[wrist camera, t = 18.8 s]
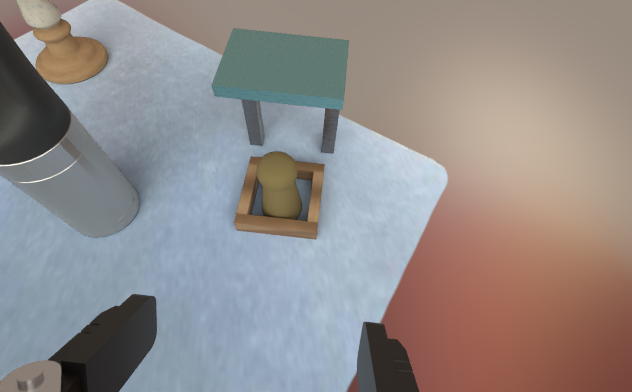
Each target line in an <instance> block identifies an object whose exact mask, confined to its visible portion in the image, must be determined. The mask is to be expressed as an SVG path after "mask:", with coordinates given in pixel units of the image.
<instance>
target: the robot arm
mask: <svg viewBox="0 0 632 392" xmlns="http://www.w3.org/2000/svg"><path fill="white" fill-rule="evenodd" d="M0 175H1V176H2V177H3V178H5V179H7V180H8V181H9V182H11V183H12V184H13V185H15V186H16V187H18V188H19V189H20V190H22V191H23V192H25V193H26V194H27V195H29V196H30V197H32V198H33V199H34V200H36V201H37V202H38V203H40V204H41V205H43V206H44V207H45V208H47V209H48V210H50V211H51V212H52V213H54V214H55V215H57V216H58V217H59V218H61V219H62V220H63V221H65V222H66V223H67V224H69V225H70V226H72V227H73V228H74V229H76V230H77V231H79V232H80V233H82V234H83V235H86V236H89V237H105V236H108V235H112V234H114V233H116V232H119V231H120V230H122V229H123V228H125V227H126V226H127V225H128V224H129V223H130V222H131V221H132V220H133V219H134V217H135V216H136V214H137V212H138V209H139V205H140V199H139V195H138V193H137V192H136V190H135V189H134V187H133V186H132V185H131V184H130V183H129V181H128V180H127V179H126V178H125V176H124V175H123V174H122V173H121V171H120V170H119V169H118V168H117V167H116V165H115V164H114V163H113V162H112V160H111V159H110V158H109V157H108V156H107V154H106V153H105V152H104V151H103V150H102V148H101V147H100V146H99V145H98V143H97V142H96V141H95V140H94V139H93V137H92V136H91V135H90V134H89V133H88V131H87V130H86V129H85V128H84V126H83V125H82V124H81V123H80V122H79V121H78V119H77V118H76V117H75V116H74V114H73V113H72V112H71V111H70V110H69V108H68V107H67V106H66V105H65V103H64V102H63V101H62V100H61V99H60V97H59V96H58V95H57V94H56V93H55V92H54V91H53V89H52V88H51V87H50V86H49V85H48V84H47V82H46V81H45V80H44V79H43V78H42V76H41V75H40V74H39V73H38V71H37V70H36V69H35V68H34V67H33V65H32V64H31V63H30V61H29V60H28V59H27V57H26V56H25V55H24V53H23V52H22V51H21V49H20V48H19V47H18V45H17V44H16V42H15V41H14V40H13V38H12V37H11V36H10V34H9V33H8V32H7V30H6V29H5V27H4V26H3V25H2V23H1V22H0ZM156 334H157V317H156V299H155V297H154V296H147V295H138V294H133V295H131V296H130V297H129V298H128V299H127V300H126V301H125V302H123V303H122V304H121V305H120V306H114V307H112V308H110V309H108V310H106V311H104V312H102V313H101V314H100V315H98V316H97V317H96V318H95V319H94V320H93V321H92V322H90V325H87V326H86V327H85V328H84V329H82V330H81V333H78V334H77V335H76V336H75V337H73V338H72V339H71V340H70V341H69V342H68V343H67V344H65V345H64V346H63V347H62V348H61V349H60V350H59V351H58V352H56V353H55V354H54V355H53V356H52V357H51V358H50V359H48V360H46V361H37V362H33V363H30V364H27V365H24V366H22V367H20V368H18V369H16V370H14V371H12V372H11V373H10V374H8V375H7V376H6V377H5V378H4V379H3V380H2V381H0V392H119V391H120V389H121V388H122V387H123V385H124V384H125V383H126V381H127V380H128V379H129V377H130V376H131V375H132V373H133V372H134V371H135V369H136V368H137V367H138V365H139V364H140V363H141V361H142V360H143V359H144V357H145V356H146V355H147V353H148V352H149V351H150V349H151V348H152V346H153V344H154V342H155V339H156ZM357 377H358V387H359V392H419V390H418V387H417V383H416V380H415V377H414V374H413V371H412V367H411V364H410V361H409V358H408V355H407V352H406V349H405V348H404V347H403V346H402V345H401V343H400V342H399V341H398V340H396V339H388V338H387V334H386V331H385V326H384V324H381V323H372V322H364V323H363V327H362V333H361V339H360V345H359V351H358V359H357Z"/></svg>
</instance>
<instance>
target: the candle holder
mask: <svg viewBox="0 0 632 392" xmlns="http://www.w3.org/2000/svg"><path fill="white" fill-rule="evenodd" d="M16 2H17V4H18V6H19V8H20V11H21V14H22V17H23V19H24V21H25V22H26V23H27V24H29V25H30V26H32V27H34V30H33V34H34V36H35V37H36V38H37V39H38V40H41V41H43V42H45V44H46V45H47V46H46V47H45V48H44V50H43V51H42V52H41V53H40V54H39V55H38V57H37V59H36V69H37V71H38V73H39V74H40V75H41V76H42V77H43V78H44V79H46V80H48V81H50V82H53V83H58V84H70V83H76V82H80V81H83V80H86V79H88V78H91V77H92V76H94V75H96V74H97V73H99V72H100V71H101V70H102V69H103V68H104V66H105V65H106V63H107V60H108V54H107V51H106V49H105V47H104V46H103V45H102V44H101V43H100V42H98V41H96V40H94V39H91V38H86V37H73V36H72V35H71V33H70V31H71V26H70V24H69V23H68V22H67V21H65V20H63V19H61V12H60V10H59V9H58V8H57V6H56V5H55V4H53V3H52V2H51V1H50V0H16Z"/></svg>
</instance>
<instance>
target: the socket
mask: <svg viewBox="0 0 632 392" xmlns="http://www.w3.org/2000/svg"><path fill="white" fill-rule="evenodd" d="M260 159H261V157H252V156H251V158H250V162H249V166H248V170H247V174H246V177H245V181H244V185H243V189H242V193H241V197H240V201H239V205H238V209H237V213H236V217H235V221H234V224H235V227H236V229H237V230H238V231H247V232H256V233H265V234H273V235H282V236H291V237H300V238H309V239H316V236H317V227H318V218H319V209H320V200H321V191H322V183H323V174H324V165H325V164H316V163H307V162H298V161H295V163H296V165H297V170H298V171H297V179H306V180H313V182H312V189H311V197H310V205H309V212H308V220H307V221H301V220H292V219H283V218H275V217H266V216H257V215H251V213H252V208H253V204H254V200H255V195H256V191H257V187H258V182H259V180H258V177H257V174H256V170H257V164H258V162H259V161H260Z"/></svg>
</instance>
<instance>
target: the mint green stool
mask: <svg viewBox="0 0 632 392" xmlns="http://www.w3.org/2000/svg"><path fill="white" fill-rule="evenodd" d="M348 45H349V41H348V40H340V39H330V38H321V37H311V36H302V35H292V34H282V33H272V32H262V31H254V30H244V29H233V31H232V33H231V36H230V39H229V41H228V44H227V46H226V49H225V52H224V54H223V57H222V59H221V62H220V65H219V67H218V70H217V73H216V75H215V78H214V80H213V83H212V88H213V92H214V95H215V96H217V97H227V98H236V99H242V104H243V109H244V114H245V119H246V124H247V129H248V134H249V139H250V144H251V145H260V146H262V145H263V141H264V130H263V122H262V115H261V108H260V101H264V102H273V103H282V104H292V105H301V106H310V107H319V108H325V119H324V129H323V140H322V151H321V152H324V153H333V152H334V145H335V138H336V131H337V124H338V117H339V110H342V108H343V101H344V91H345V79H346V68H347V57H348V56H347V55H348Z"/></svg>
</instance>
